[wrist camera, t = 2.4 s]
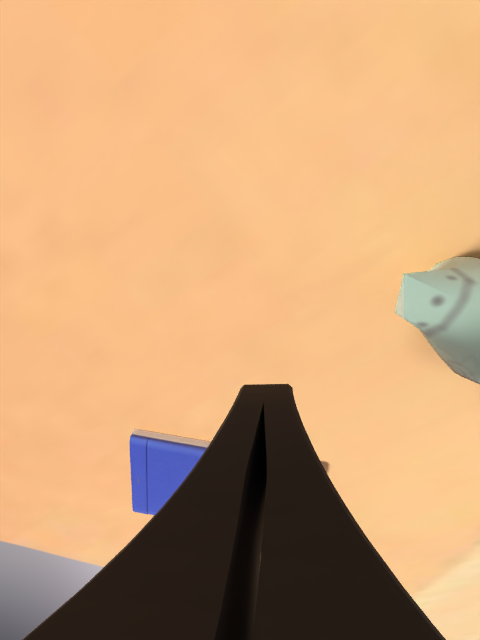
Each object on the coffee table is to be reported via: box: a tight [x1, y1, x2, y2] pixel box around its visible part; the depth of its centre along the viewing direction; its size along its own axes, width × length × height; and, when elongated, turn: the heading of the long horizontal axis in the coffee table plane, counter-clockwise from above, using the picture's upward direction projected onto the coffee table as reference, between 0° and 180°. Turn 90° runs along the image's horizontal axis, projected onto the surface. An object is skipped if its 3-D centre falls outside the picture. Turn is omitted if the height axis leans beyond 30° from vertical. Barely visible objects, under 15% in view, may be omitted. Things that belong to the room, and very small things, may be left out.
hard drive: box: [130, 429, 211, 515], centre depth 25 cm, size 2×8×12 cm
